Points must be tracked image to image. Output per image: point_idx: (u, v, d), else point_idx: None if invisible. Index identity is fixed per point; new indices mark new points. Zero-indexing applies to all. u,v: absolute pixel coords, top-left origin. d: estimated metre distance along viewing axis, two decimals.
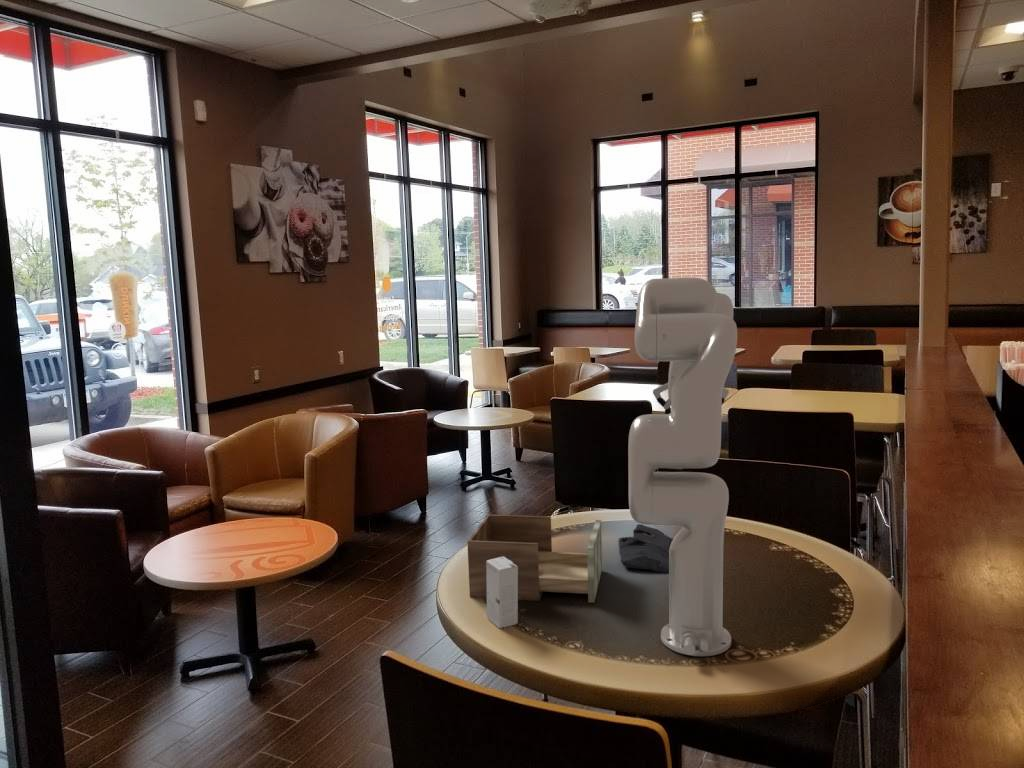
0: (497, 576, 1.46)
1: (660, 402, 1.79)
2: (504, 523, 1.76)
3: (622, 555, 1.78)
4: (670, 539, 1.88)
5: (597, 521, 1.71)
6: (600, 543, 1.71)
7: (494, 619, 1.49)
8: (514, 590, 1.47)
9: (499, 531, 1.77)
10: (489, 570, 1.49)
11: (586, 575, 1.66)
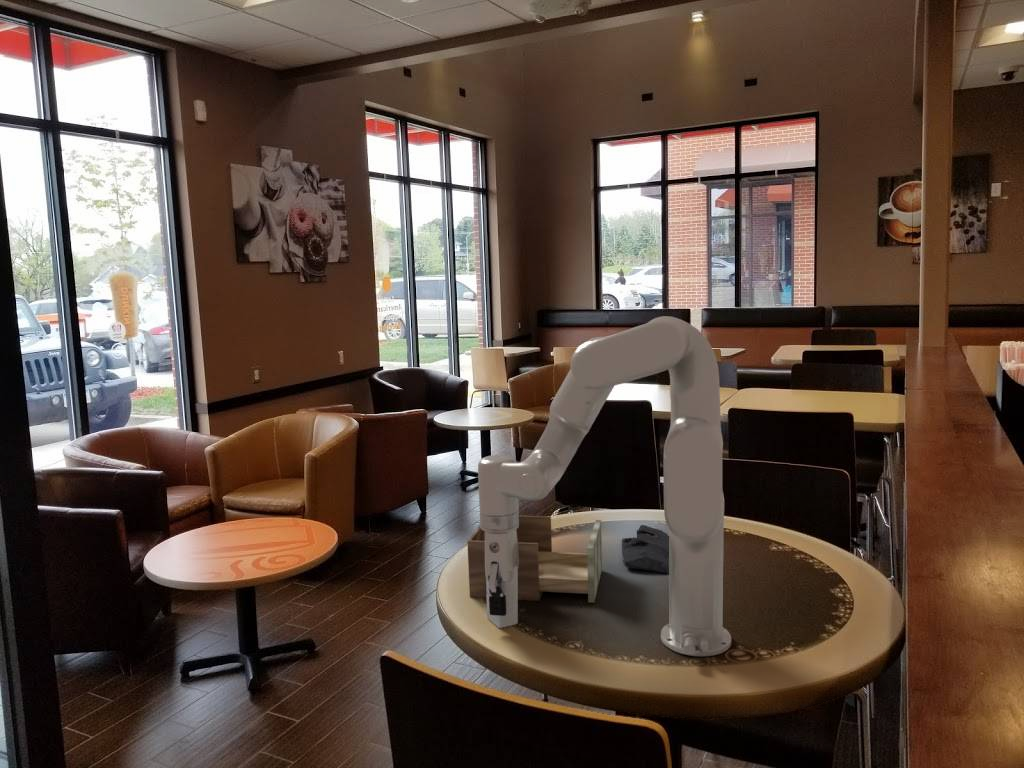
0: None
1: (498, 591, 1.43)
2: None
3: (624, 556, 1.78)
4: None
5: (597, 521, 1.71)
6: (600, 543, 1.71)
7: (494, 619, 1.49)
8: (514, 590, 1.47)
9: None
10: None
11: (586, 575, 1.66)
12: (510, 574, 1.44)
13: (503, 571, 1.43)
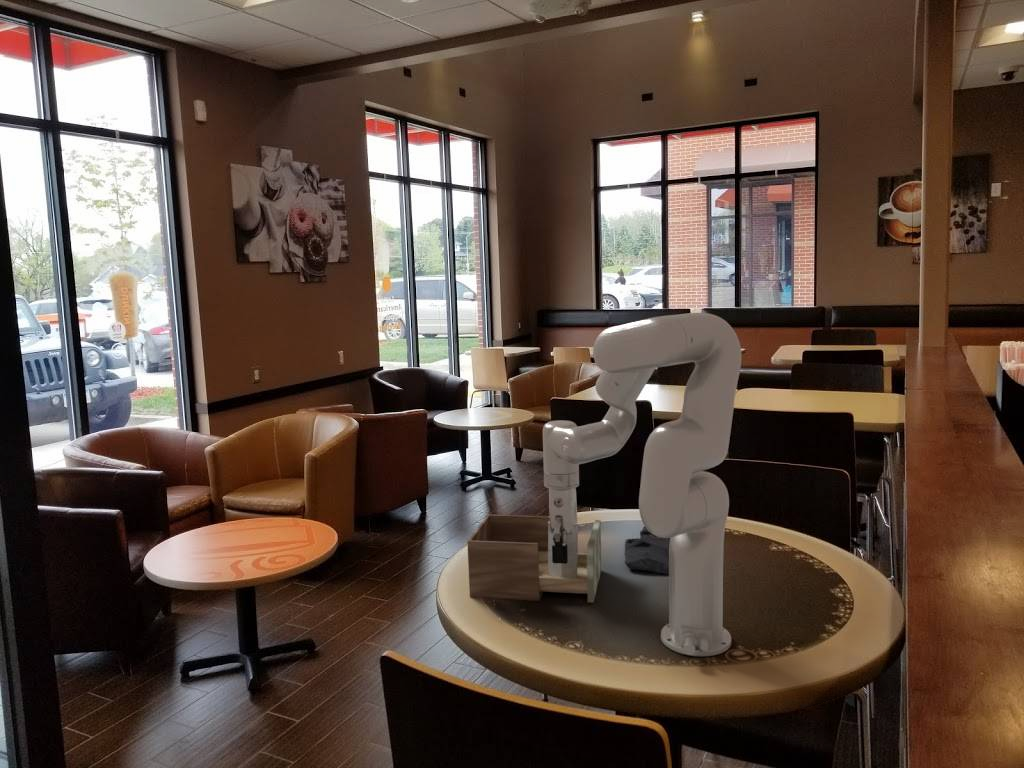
0: None
1: (561, 541, 1.58)
2: (504, 523, 1.76)
3: (627, 556, 1.77)
4: None
5: (596, 521, 1.71)
6: None
7: (555, 574, 1.65)
8: (574, 547, 1.63)
9: (499, 531, 1.77)
10: None
11: (585, 575, 1.66)
12: (572, 527, 1.60)
13: (566, 524, 1.59)
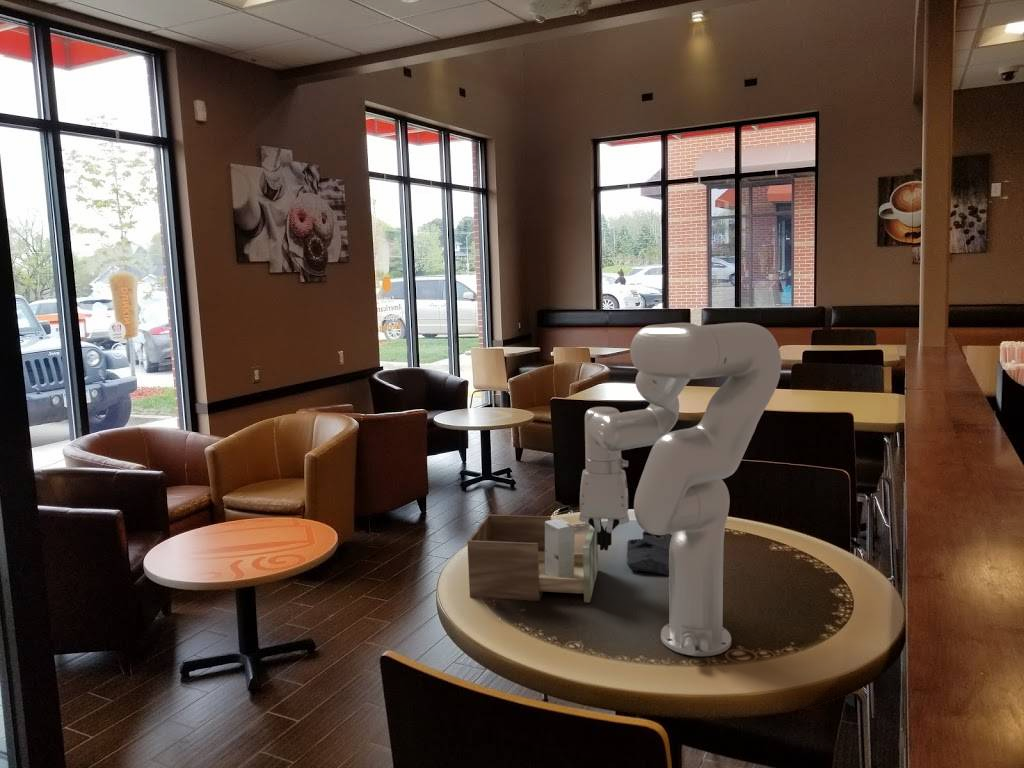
0: (556, 534, 1.62)
1: None
2: (504, 523, 1.76)
3: (629, 557, 1.77)
4: None
5: None
6: (596, 543, 1.71)
7: (552, 574, 1.65)
8: (571, 547, 1.63)
9: (499, 531, 1.77)
10: (548, 530, 1.65)
11: (582, 575, 1.66)
12: None
13: None
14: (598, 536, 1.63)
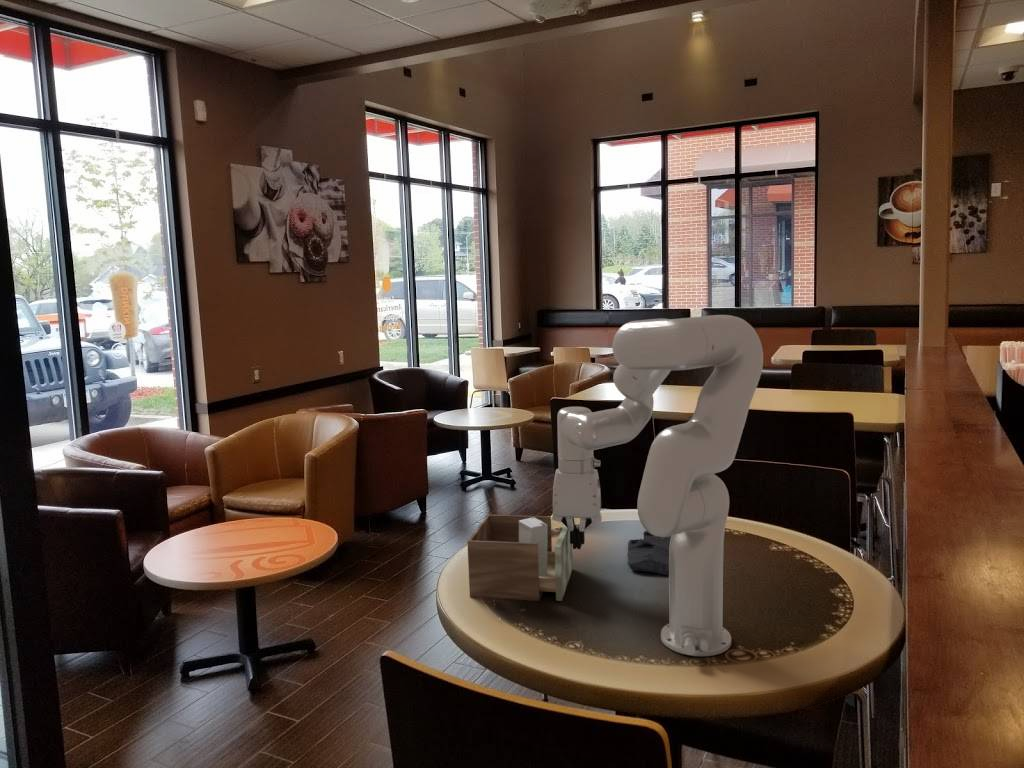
0: (529, 533, 1.64)
1: None
2: (504, 523, 1.76)
3: (629, 557, 1.77)
4: None
5: None
6: None
7: None
8: (544, 546, 1.65)
9: (499, 531, 1.77)
10: (522, 529, 1.66)
11: None
12: None
13: (600, 501, 1.64)
14: (571, 535, 1.64)
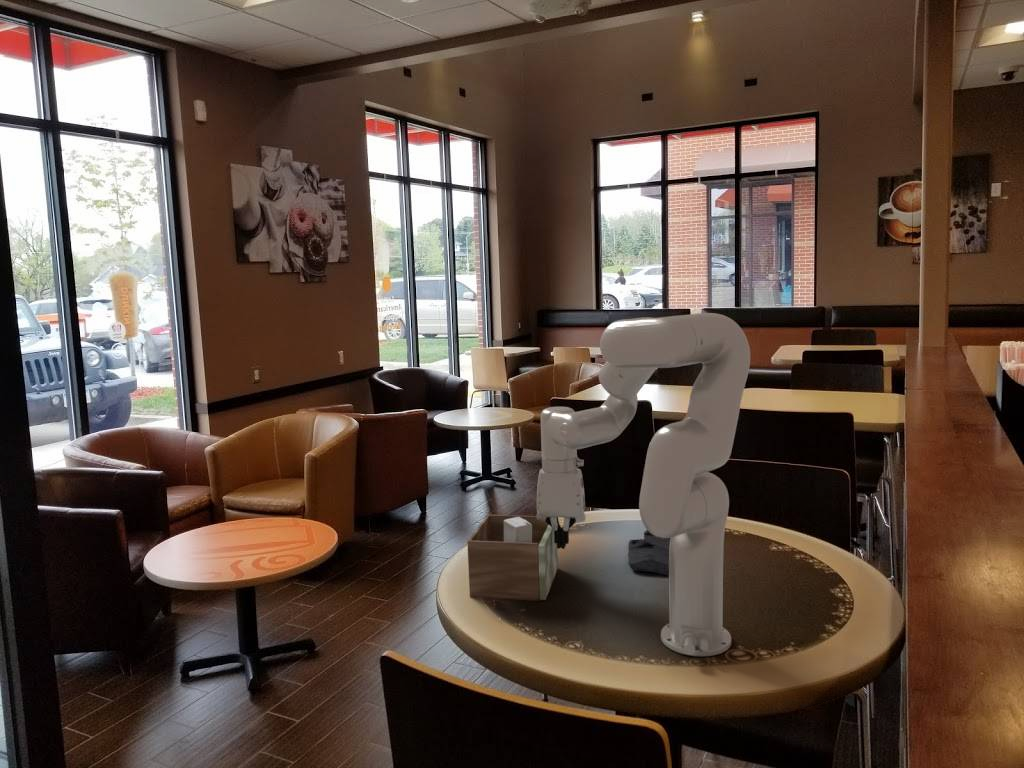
0: (514, 532, 1.64)
1: None
2: None
3: (630, 557, 1.77)
4: None
5: None
6: None
7: None
8: None
9: (499, 531, 1.77)
10: (507, 528, 1.67)
11: None
12: None
13: (584, 501, 1.65)
14: (555, 535, 1.65)
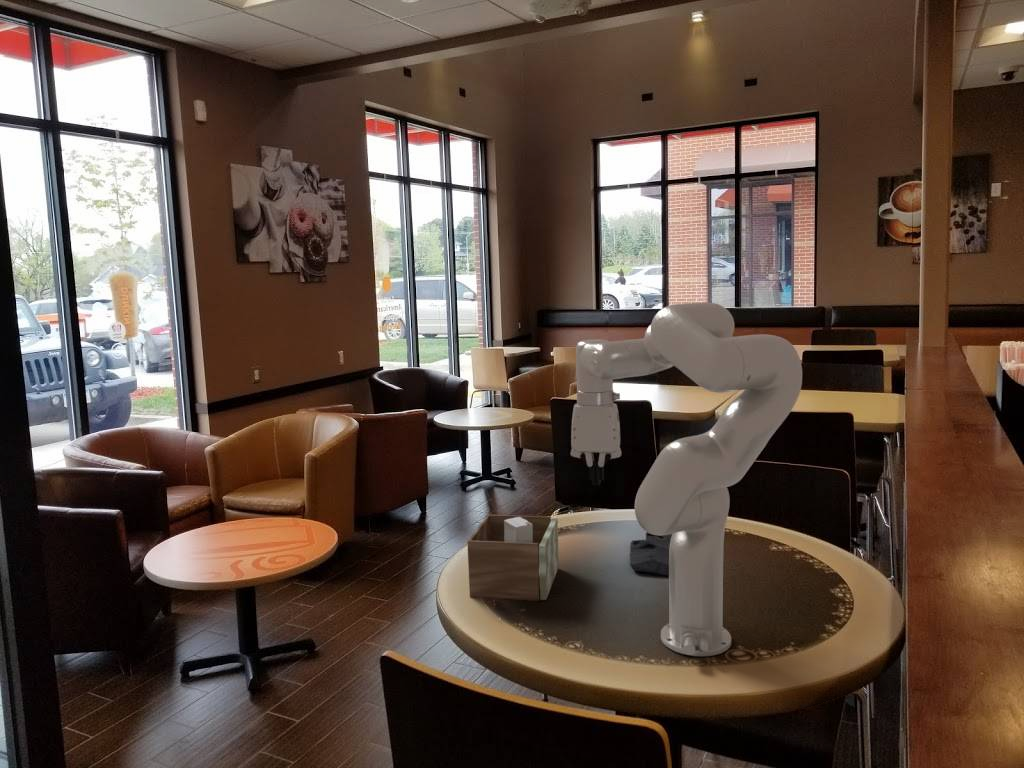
0: (514, 532, 1.64)
1: None
2: None
3: (631, 558, 1.76)
4: None
5: (553, 519, 1.73)
6: (556, 541, 1.73)
7: None
8: None
9: (499, 531, 1.77)
10: (507, 528, 1.67)
11: None
12: None
13: None
14: (590, 471, 1.61)
